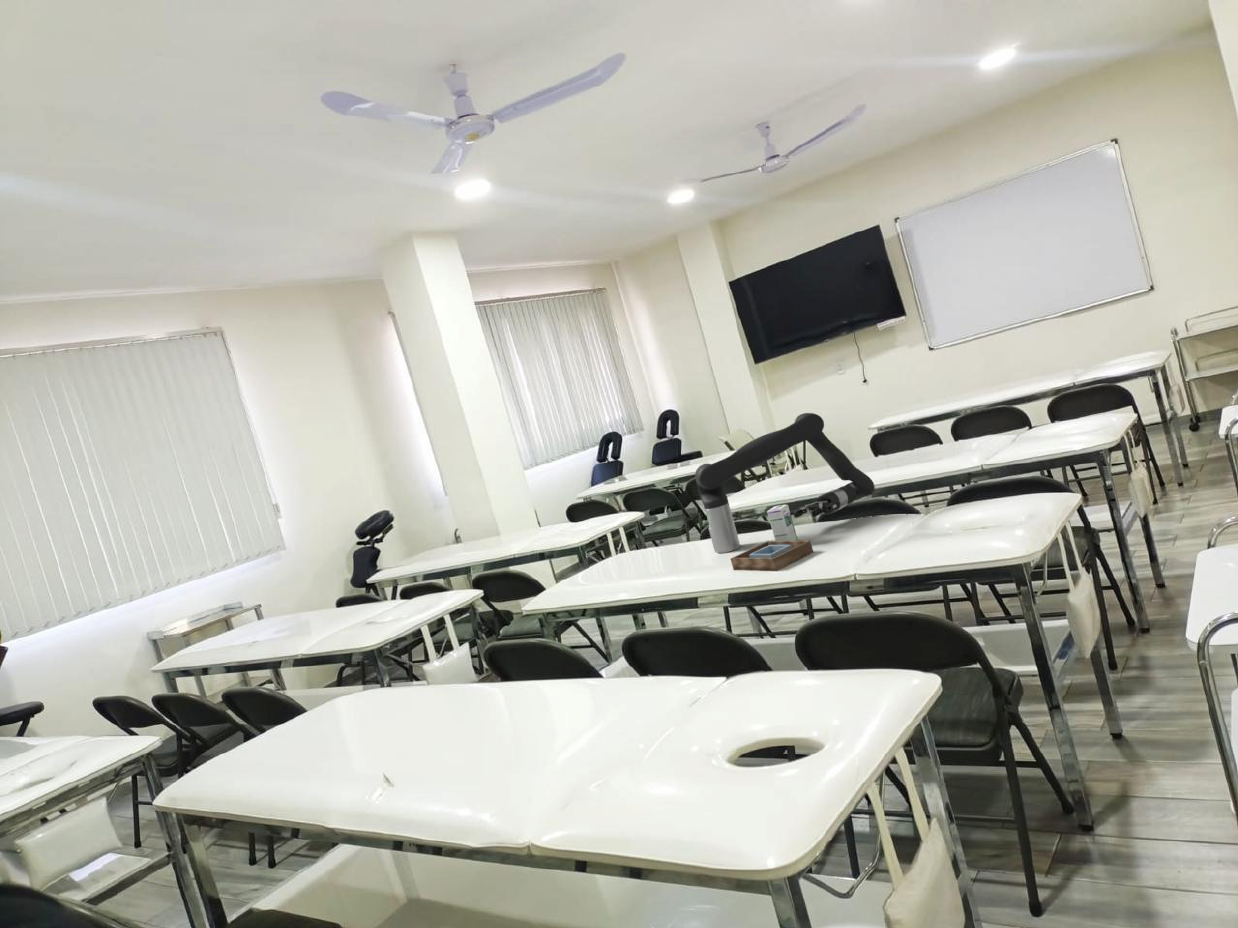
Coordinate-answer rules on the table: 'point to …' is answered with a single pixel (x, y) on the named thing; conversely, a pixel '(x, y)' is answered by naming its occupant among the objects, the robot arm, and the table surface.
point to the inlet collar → (771, 551)
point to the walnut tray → (772, 564)
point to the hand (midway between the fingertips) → (803, 514)
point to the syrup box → (782, 523)
